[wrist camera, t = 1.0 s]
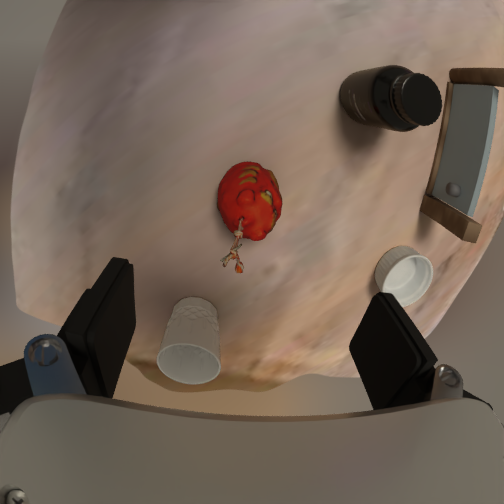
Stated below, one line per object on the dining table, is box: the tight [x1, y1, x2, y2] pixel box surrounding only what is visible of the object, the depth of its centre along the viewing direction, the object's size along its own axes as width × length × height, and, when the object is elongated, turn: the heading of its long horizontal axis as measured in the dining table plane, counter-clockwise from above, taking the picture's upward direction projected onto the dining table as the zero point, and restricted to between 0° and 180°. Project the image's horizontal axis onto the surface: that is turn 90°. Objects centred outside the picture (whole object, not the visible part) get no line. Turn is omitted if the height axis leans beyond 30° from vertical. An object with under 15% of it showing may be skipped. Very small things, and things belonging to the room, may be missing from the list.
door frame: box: [420, 68, 504, 243], centre depth 25 cm, size 23×3×13 cm, turn 171°
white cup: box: [157, 297, 221, 384], centre depth 37 cm, size 8×8×10 cm
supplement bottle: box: [340, 65, 442, 132], centre depth 23 cm, size 7×7×12 cm
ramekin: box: [375, 246, 433, 307], centre depth 38 cm, size 9×9×4 cm
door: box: [432, 84, 499, 217], centre depth 27 cm, size 17×3×8 cm, turn 171°
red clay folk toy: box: [217, 162, 282, 273], centre depth 27 cm, size 8×7×15 cm
